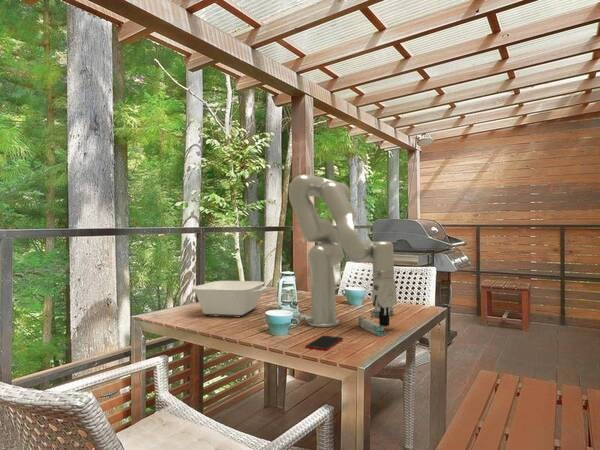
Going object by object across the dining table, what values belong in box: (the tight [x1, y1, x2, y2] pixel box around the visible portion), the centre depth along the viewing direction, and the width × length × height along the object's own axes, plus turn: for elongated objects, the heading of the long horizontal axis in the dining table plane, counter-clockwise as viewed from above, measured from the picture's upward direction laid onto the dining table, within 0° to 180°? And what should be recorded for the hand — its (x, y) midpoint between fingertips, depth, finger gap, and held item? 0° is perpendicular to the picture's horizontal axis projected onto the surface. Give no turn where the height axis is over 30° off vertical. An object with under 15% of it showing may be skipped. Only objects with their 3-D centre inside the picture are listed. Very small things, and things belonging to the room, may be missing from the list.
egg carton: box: [370, 307, 395, 319], centre depth 179 cm, size 11×8×4 cm
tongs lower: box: [358, 316, 386, 337], centre depth 155 cm, size 16×3×3 cm, turn 19°
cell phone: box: [304, 335, 344, 352], centre depth 139 cm, size 8×15×1 cm, turn 152°
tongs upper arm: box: [362, 318, 385, 331], centre depth 153 cm, size 13×3×2 cm, turn 17°
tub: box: [192, 280, 268, 317], centre depth 191 cm, size 34×27×13 cm
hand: (384, 325), depth 154 cm, fingers closed
